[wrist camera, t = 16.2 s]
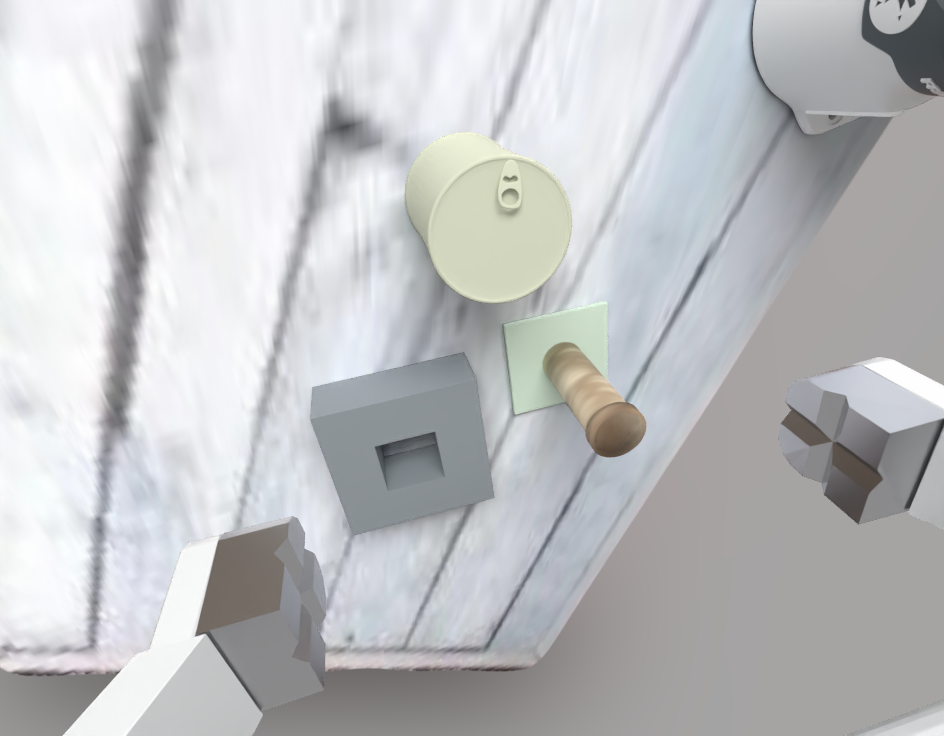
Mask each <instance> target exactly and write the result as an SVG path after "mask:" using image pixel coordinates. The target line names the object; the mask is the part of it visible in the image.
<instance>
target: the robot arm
mask: <svg viewBox="0 0 944 736" xmlns="http://www.w3.org/2000/svg"><path fill="white" fill-rule="evenodd" d="M753 47H754V54H755V59H756V63H757V66H758V69H759V72H760V74H761V76H762V78H763V80H764V82H765V84H766V85H767V86H768V88H769V89H770V90H771V91H772V92H773V93H774V94H775V95H776V96H777V97H778V98H780V99H781V100H783V101H784V102H785V103H787V104H788V105H789V106H790V107H791V108H792V109H793V112H794V114H795V117H796V119H797V122H798V124H799V126H800V128H801V130H802V131H803V132H804V133H806V134H821V133H824V132H826V131H829V130H831V129H834V128H836V127H838V126H841V125H843V124H846V123H848V122H850V121H853V120H855V119H858V118H860V117H862V116H873V117H895V116H900V115H901V114H902V113H903V112H904V111H905V110H907V109H910V108H913V107H916V106H918V105H920V104H922V103H924V102H926V101H928V100H930V99H932V98H934V97H936V96H942V97H944V0H756V5H755V11H754V19H753ZM829 115H830V116H829ZM786 404H787V405H788V406H789V408H790V409H791V411H790V412H789V414H788V415H787V416H786V417H785V419H784V420H783V421H782V423H781V426H780V433H779V442H780V446H781V449H782V452H783V455H784V456H785V458H786V459H787V460H788V462H789V464H790V465H791V466H792V467H793V468H794V469H795V470H797V472H799V473H800V474H801V475H802V476H804V477H807V478H810V479H812V480H815V481H818V482H821V483H822V487H823V493H824V495H825V496H826V497H827V498H828V499H829V500H831V501H832V502H833V503H834V504H835V505H836V506H838V507H839V508H840V509H841V510H842V511H844V512H845V513H846V514H847V515H848V516H849V517H850V518H851V519H853V520H854V521H855V522H856V523H857V524H862V523H866V522H869V521H873V520H877V519H880V518H884V517H887V516H891V515H894V514H898V513H901V512H905V511H909V512H908V514H909V515H912V516H914V517H916V518H919V519H921V520H923V521H925V522H927V523H930V524H932V525H934V526H937V527H939V528H941V529H943V530H944V386H943V385H941V384H939V383H937V382H935V381H933V380H931V379H930V378H927V377H926V376H923V375H921V374H920V373H918V372H916V371H914V370H912V369H910V368H908V367H906V366H904V365H902V364H900V363H898V362H897V361H895V360H893V359H888V358H882V357H877V358H873V359H870V360H866V361H863V362H859V363H856V364H852V365H850V366H848V367H843V368H840V369H836V370H832V371H829V372H825V373H822V374H818V375H815V376H811V377H807V378H804V379H800V380H796V381H794V383H793V384H792V385H791V386H790V388H789V389H788V392H787V397H786ZM304 545H305V532H304V530H303V528H302V526H301V524H300V522H299V520H298V518H296V517H293V516H292V517H287V518H283V519H279V520H275V521H271V522H267V523H263V524H259V525H255V526H251V527H247V528H243V529H238V530H234V531H230V532H226V533H224V534H222V535H217V536H213V537H209V538H205V539H201V540H197V541H192V542H188V543H187V545H186V546H185V547H184V548H183V549H182V550H181V552H180V554H179V557H178V560H177V563H176V567H175V570H174V573H173V576H172V579H171V582H170V585H169V588H168V591H167V594H166V597H165V600H164V604H163V607H162V610H161V613H160V616H159V619H158V622H157V625H156V628H155V631H154V634H153V638H152V641H151V644H150V647H149V650H147V651H144V652H141V653H138V654H136V655H135V656H134V657H133V658H132V659H131V660H130V661H129V663H128V664H127V665H126V666H125V667H124V668H123V669H122V670H121V671H120V673H119V674H118V675H117V676H116V677H115V678H114V679H113V680H112V682H111V683H110V684H109V685H108V686H107V687H106V688H105V689H104V690H103V691H102V693H101V694H100V695H99V696H98V697H97V698H96V699H95V700H94V701H93V703H92V704H91V705H90V706H89V707H88V708H87V709H86V711H85V712H84V713H83V714H82V715H81V716H80V717H79V718H78V719H77V720H76V722H75V723H74V724H73V725H72V726H71V727H70V728H69V729H68V730H67V731H66V733H65V734H64V735H63V736H252V735H253V733H254V731H255V729H256V727H257V725H258V723H259V722H260V720H261V718H262V716H263V715H262V713H261V711H264V710H267V709H270V708H273V707H276V706H279V705H282V704H285V703H288V702H291V701H294V700H297V699H300V698H302V697H306V696H308V695H311V694H314V693H317V692H320V691H323V690H324V686H325V684H324V683H325V681H324V680H325V642H324V640H323V638H322V636H321V634H320V632H319V630H318V627H319V626H320V624H321V623H322V621H323V620H324V618H325V616H326V596H325V588H324V581H323V576H322V573H321V569H320V566H319V563H318V561H317V558H316V556H315V554H314V553H312V552H310V551H308V550H306V549H304ZM844 736H944V700H941V701H938V702H935V703H933V704H930V705H927V706H924V707H921V708H919V709H916V710H913V711H911V712H908V713H905V714H902V715H899V716H897V717H894V718H891V719H888V720H886V721H883V722H880V723H877V724H874V725H872V726H869V727H866V728H863V729H861V730H858V731H855V732H852V733H850V734H847V735H844Z"/></svg>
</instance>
